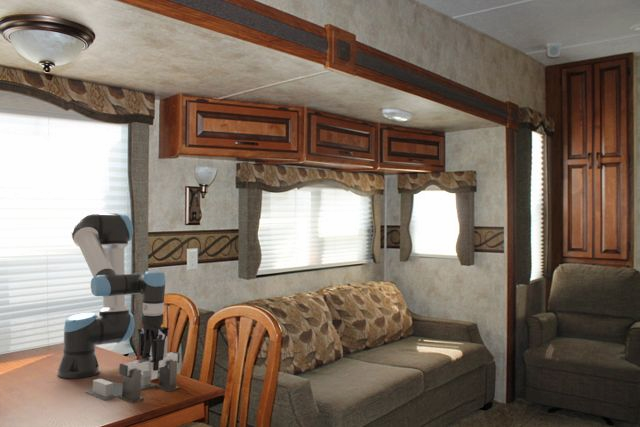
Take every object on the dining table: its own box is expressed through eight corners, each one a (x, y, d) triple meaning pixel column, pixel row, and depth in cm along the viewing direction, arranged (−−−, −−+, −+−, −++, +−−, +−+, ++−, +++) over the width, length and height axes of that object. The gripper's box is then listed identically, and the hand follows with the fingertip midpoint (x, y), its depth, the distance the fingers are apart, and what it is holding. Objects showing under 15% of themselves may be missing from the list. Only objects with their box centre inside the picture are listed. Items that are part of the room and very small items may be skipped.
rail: (119, 374, 192) (119, 364, 192) (172, 360, 212) (173, 351, 211) (125, 376, 190) (125, 366, 190) (179, 362, 209) (179, 353, 209)
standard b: (155, 387, 208) (156, 359, 207) (165, 384, 212) (167, 356, 212) (169, 391, 203) (170, 363, 203) (179, 388, 207) (180, 360, 207)
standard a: (117, 397, 194) (119, 368, 194) (130, 394, 199) (131, 365, 198) (131, 403, 190) (133, 372, 190) (144, 399, 194) (145, 369, 194)
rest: (85, 392, 198) (85, 379, 198) (137, 378, 216) (137, 367, 216) (104, 400, 191) (105, 387, 191) (156, 385, 209) (157, 373, 209)
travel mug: (162, 380, 216) (164, 329, 216) (146, 378, 217) (148, 328, 217) (169, 375, 222) (171, 326, 222) (154, 374, 223) (156, 325, 223)
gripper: (130, 311, 202) (127, 374, 203) (159, 318, 193) (156, 385, 193) (147, 309, 208) (144, 370, 209) (176, 315, 199) (173, 380, 199)
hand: (150, 377), depth 201 cm, fingers closed on rail, 3 cm apart
